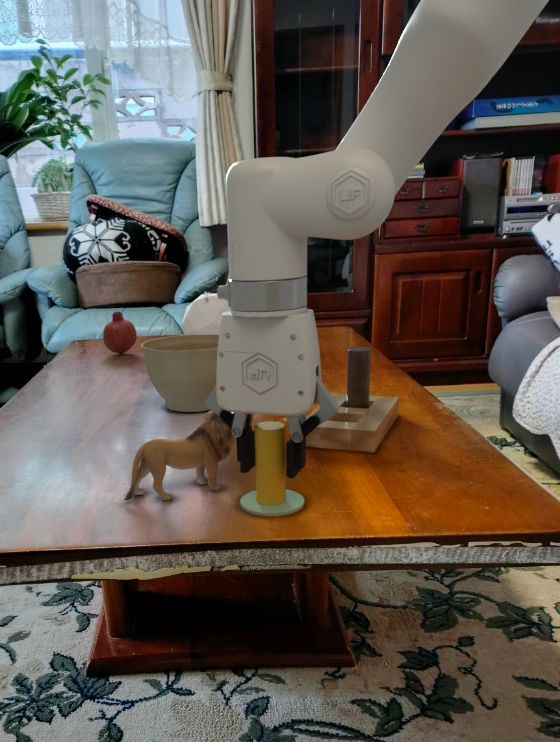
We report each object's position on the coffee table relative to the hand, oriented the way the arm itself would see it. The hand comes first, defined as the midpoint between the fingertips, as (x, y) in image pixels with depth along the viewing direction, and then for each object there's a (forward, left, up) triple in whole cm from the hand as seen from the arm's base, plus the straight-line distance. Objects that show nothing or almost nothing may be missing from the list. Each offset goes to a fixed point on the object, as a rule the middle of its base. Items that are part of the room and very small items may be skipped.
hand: (271, 469), depth 73 cm
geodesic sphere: (+41, -77, -4) cm, 87 cm away
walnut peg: (-2, -32, -4) cm, 32 cm away
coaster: (0, 0, -4) cm, 4 cm away
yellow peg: (0, 0, -4) cm, 4 cm away
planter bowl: (+26, -35, -4) cm, 44 cm away
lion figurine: (+11, -1, -4) cm, 12 cm away
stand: (-2, -28, -4) cm, 28 cm away
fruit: (+64, -74, -4) cm, 98 cm away
